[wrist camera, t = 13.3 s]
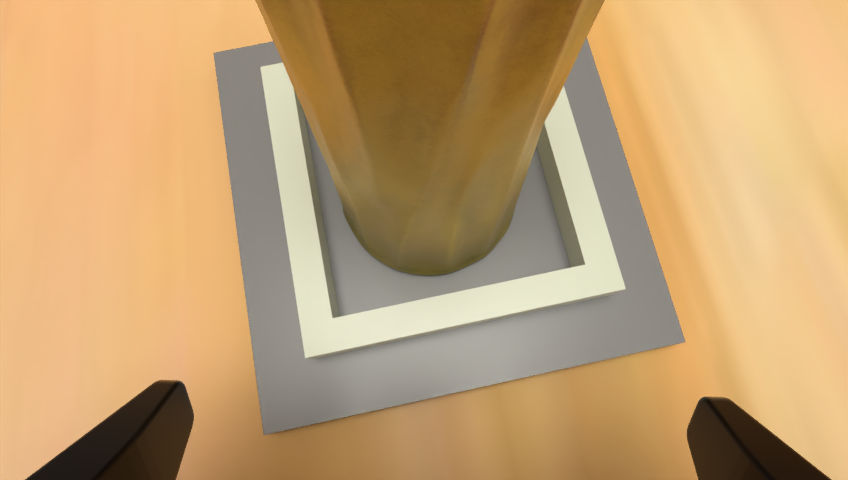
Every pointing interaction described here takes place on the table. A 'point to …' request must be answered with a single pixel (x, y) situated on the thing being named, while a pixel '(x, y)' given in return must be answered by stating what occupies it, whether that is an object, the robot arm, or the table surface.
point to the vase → (428, 111)
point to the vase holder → (431, 294)
